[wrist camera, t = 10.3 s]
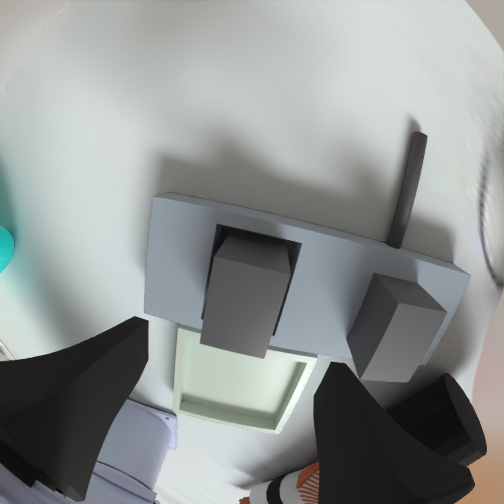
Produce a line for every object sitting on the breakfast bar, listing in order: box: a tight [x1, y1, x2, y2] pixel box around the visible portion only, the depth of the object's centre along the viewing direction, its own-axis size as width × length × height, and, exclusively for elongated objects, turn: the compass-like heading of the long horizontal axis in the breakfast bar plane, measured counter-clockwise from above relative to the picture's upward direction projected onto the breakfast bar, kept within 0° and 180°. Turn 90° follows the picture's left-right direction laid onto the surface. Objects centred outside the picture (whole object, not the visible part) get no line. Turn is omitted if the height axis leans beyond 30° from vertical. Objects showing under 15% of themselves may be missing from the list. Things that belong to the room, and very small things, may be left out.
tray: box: [173, 324, 318, 434], centre depth 21 cm, size 10×10×2 cm
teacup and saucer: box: [0, 341, 14, 361], centre depth 26 cm, size 9×8×4 cm
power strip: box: [144, 132, 471, 383], centre depth 14 cm, size 22×16×6 cm
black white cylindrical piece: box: [239, 373, 487, 504], centre depth 22 cm, size 10×34×10 cm, turn 140°
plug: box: [200, 228, 291, 359], centre depth 16 cm, size 4×5×6 cm
